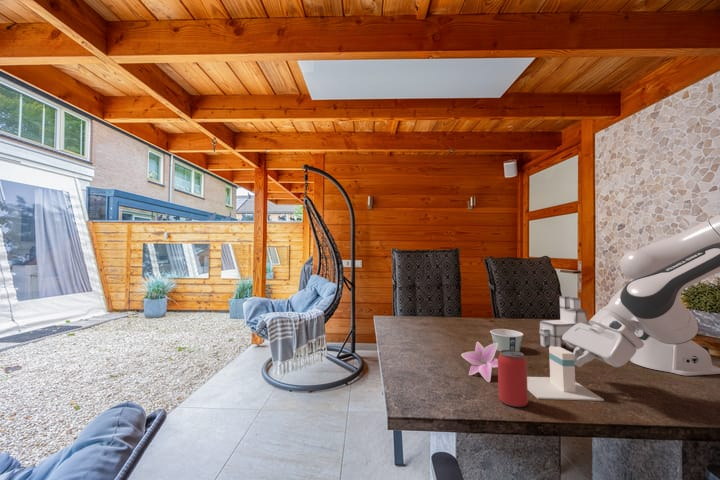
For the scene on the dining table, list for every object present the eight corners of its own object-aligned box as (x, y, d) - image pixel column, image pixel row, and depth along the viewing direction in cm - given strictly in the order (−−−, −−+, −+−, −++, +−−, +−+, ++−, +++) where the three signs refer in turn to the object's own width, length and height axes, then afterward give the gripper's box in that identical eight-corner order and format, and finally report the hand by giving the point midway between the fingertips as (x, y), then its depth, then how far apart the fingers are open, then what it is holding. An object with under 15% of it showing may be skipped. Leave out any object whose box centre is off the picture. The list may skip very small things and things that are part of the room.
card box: (561, 382, 87) (559, 346, 88) (575, 392, 81) (574, 353, 82) (550, 382, 88) (548, 346, 88) (563, 391, 81) (562, 353, 82)
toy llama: (535, 345, 126) (533, 296, 127) (571, 343, 129) (569, 295, 130) (549, 351, 118) (547, 299, 120) (587, 348, 122) (585, 298, 123)
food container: (486, 344, 128) (486, 328, 128) (516, 345, 126) (516, 329, 127) (496, 353, 116) (495, 335, 116) (529, 354, 115) (528, 336, 115)
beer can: (527, 410, 72) (525, 358, 73) (496, 403, 75) (495, 354, 76) (528, 399, 77) (527, 351, 78) (500, 393, 81) (499, 347, 82)
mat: (569, 379, 91) (569, 377, 91) (603, 400, 77) (603, 399, 77) (513, 377, 92) (513, 376, 92) (537, 399, 78) (537, 397, 78)
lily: (459, 370, 101) (453, 348, 97) (488, 354, 103) (484, 332, 100) (484, 397, 90) (478, 373, 86) (516, 378, 92) (512, 354, 89)
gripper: (576, 313, 95) (544, 344, 95) (630, 327, 74) (590, 368, 74) (591, 327, 94) (560, 359, 94) (650, 346, 74) (610, 387, 74)
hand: (574, 363), depth 84 cm, fingers closed
